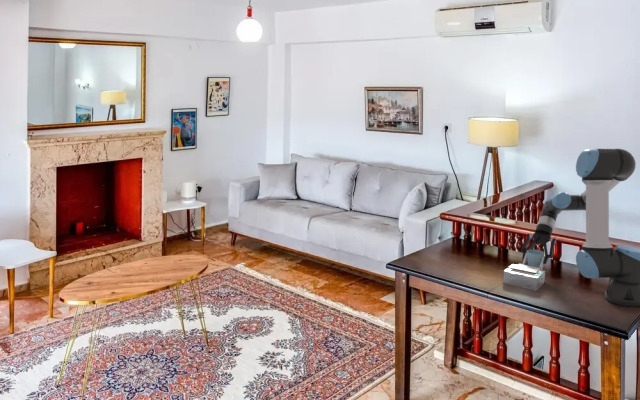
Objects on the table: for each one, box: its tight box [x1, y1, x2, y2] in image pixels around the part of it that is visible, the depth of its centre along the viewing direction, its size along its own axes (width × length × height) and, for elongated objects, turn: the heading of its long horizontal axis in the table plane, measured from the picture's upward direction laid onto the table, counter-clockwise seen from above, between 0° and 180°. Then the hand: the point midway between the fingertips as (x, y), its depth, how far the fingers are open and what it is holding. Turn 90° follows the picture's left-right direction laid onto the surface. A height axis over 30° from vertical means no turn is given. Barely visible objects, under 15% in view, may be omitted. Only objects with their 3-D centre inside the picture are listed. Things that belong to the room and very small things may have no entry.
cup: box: [526, 248, 545, 267], centre depth 266 cm, size 8×8×10 cm
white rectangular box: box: [502, 263, 546, 291], centre depth 256 cm, size 12×15×6 cm
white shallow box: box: [506, 263, 541, 276], centre depth 258 cm, size 11×14×6 cm
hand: (531, 267), depth 264 cm, fingers closed on cup, 7 cm apart
